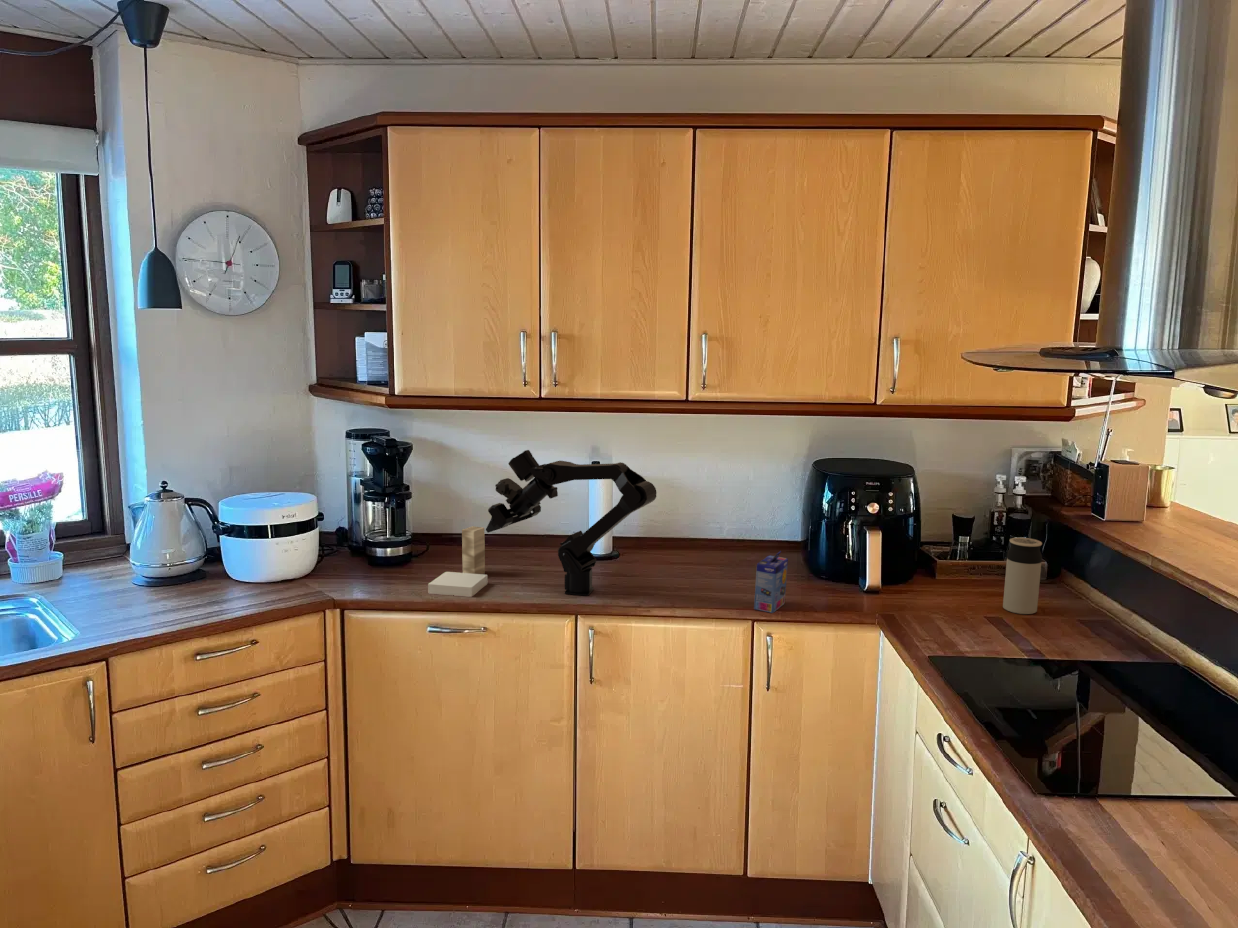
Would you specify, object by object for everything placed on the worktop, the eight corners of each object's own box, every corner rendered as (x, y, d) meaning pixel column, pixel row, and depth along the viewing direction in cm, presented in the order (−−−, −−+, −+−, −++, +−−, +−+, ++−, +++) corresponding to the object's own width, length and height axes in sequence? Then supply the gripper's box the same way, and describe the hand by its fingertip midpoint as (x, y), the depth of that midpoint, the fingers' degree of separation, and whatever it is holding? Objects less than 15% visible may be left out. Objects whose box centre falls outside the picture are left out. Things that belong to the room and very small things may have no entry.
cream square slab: (487, 585, 249) (487, 574, 249) (471, 598, 238) (471, 587, 237) (446, 582, 252) (445, 571, 251) (428, 595, 240) (428, 584, 240)
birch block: (484, 572, 260) (484, 527, 258) (474, 576, 255) (473, 531, 253) (473, 570, 262) (472, 526, 259) (462, 574, 257) (461, 529, 255)
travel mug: (1025, 617, 227) (1032, 546, 224) (996, 608, 234) (1002, 539, 231) (1043, 611, 232) (1049, 542, 229) (1013, 603, 238) (1019, 535, 235)
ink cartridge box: (774, 614, 227) (776, 557, 225) (753, 610, 230) (755, 554, 228) (786, 603, 236) (789, 548, 234) (766, 599, 239) (768, 545, 236)
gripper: (533, 465, 255) (498, 498, 262) (495, 476, 238) (459, 510, 245) (556, 497, 253) (521, 529, 260) (520, 510, 237) (483, 544, 243)
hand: (496, 527), depth 252 cm, fingers open, 9 cm apart
